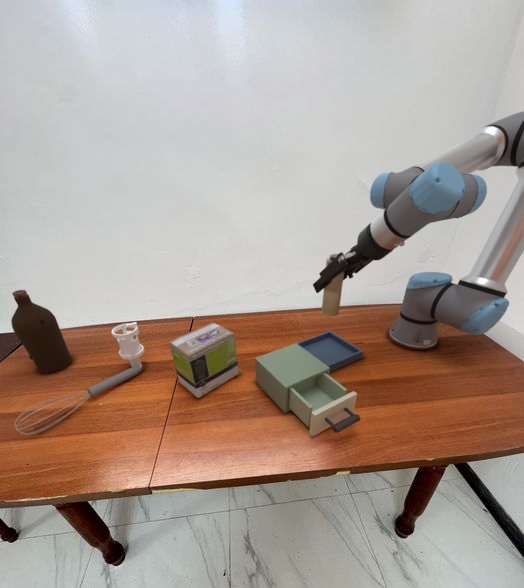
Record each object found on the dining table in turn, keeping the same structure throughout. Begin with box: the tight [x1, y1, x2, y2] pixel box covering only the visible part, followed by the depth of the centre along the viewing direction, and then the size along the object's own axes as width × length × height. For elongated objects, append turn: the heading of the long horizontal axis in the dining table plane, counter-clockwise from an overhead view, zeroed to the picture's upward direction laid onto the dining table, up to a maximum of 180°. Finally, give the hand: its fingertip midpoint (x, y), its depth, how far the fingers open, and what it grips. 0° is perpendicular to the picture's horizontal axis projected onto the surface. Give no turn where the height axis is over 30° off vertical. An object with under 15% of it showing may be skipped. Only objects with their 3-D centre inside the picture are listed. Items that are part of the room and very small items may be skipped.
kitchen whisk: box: [14, 364, 146, 436], centre depth 79 cm, size 6×34×6 cm, turn 143°
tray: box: [296, 330, 364, 373], centre depth 96 cm, size 18×16×3 cm
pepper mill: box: [321, 253, 344, 317], centre depth 79 cm, size 5×5×16 cm
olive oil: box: [10, 289, 73, 374], centre depth 88 cm, size 11×11×25 cm
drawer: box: [288, 373, 361, 437], centre depth 72 cm, size 18×13×7 cm
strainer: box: [111, 321, 145, 370], centre depth 89 cm, size 7×7×15 cm
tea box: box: [168, 321, 240, 399], centre depth 83 cm, size 15×10×15 cm, turn 135°
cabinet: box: [254, 342, 331, 413], centre depth 81 cm, size 15×14×9 cm
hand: (323, 286), depth 82 cm, fingers closed on pepper mill, 5 cm apart
